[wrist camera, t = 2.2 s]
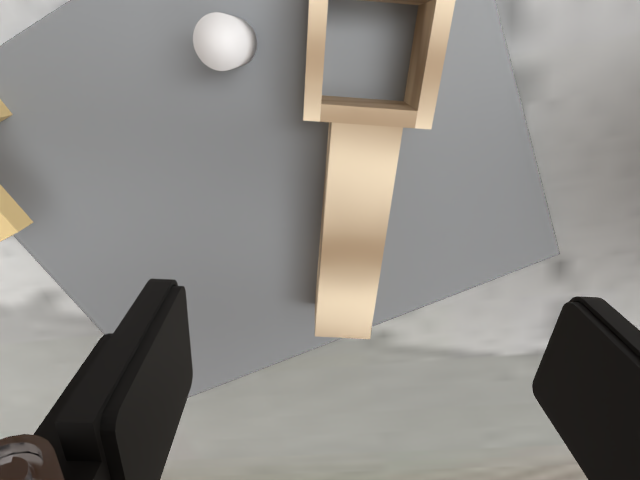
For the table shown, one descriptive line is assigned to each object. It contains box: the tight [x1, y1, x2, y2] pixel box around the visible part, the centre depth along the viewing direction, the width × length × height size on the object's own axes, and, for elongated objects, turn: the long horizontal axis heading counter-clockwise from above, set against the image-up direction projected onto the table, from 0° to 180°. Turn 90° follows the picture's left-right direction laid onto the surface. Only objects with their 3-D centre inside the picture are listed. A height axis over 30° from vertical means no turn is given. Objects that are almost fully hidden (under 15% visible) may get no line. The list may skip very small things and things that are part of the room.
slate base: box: [0, 0, 560, 398], centre depth 19 cm, size 22×27×6 cm
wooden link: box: [303, 0, 456, 339], centre depth 20 cm, size 17×5×3 cm, turn 176°
